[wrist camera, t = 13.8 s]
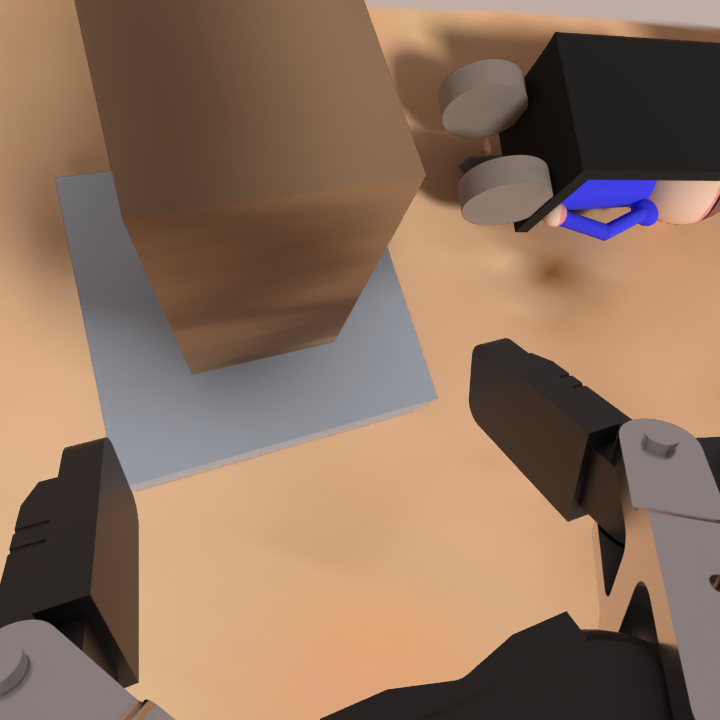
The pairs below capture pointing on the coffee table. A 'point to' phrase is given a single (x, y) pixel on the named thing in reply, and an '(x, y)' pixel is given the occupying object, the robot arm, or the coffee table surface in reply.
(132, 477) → the blue-grey square slab
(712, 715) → the robot arm
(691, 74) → the figurine character
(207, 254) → the walnut block
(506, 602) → the coffee table surface
